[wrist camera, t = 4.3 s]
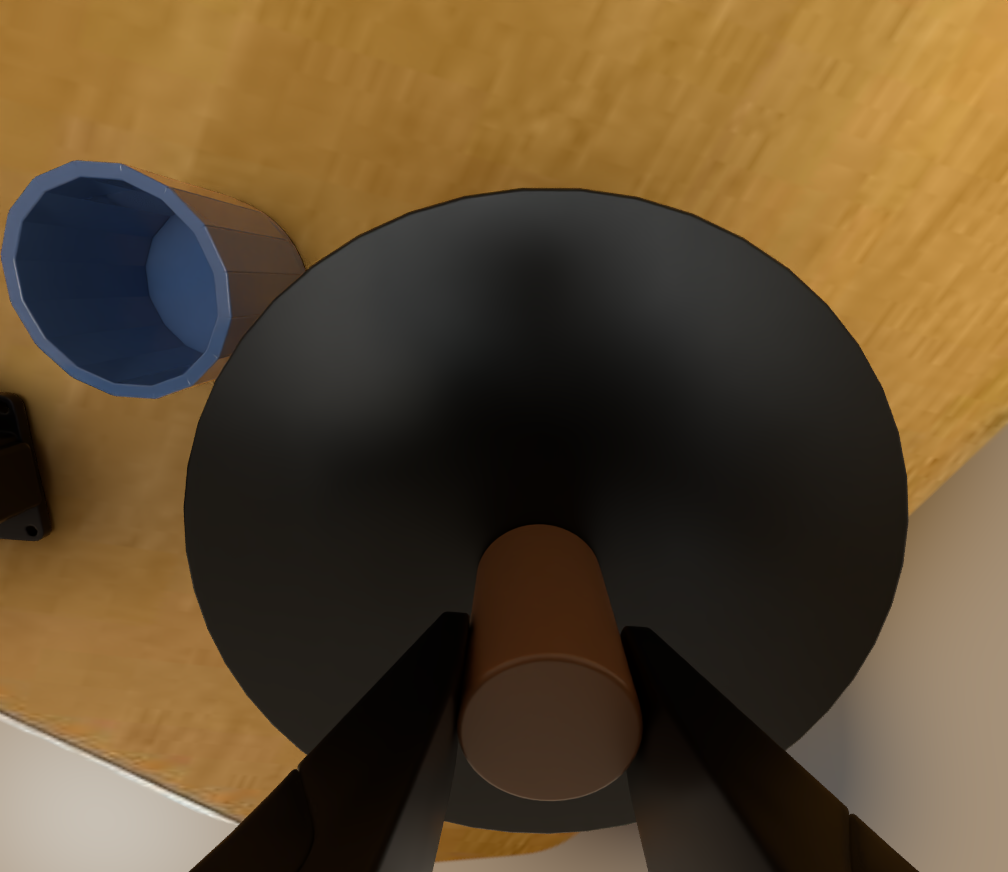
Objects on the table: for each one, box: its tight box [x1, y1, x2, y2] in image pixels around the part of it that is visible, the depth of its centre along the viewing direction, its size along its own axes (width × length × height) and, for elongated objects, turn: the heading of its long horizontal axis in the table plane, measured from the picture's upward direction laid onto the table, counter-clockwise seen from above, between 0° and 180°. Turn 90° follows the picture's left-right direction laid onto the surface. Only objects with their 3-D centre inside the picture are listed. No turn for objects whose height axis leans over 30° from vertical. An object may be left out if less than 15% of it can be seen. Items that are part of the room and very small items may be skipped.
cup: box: [1, 160, 305, 399], centre depth 16 cm, size 6×6×6 cm
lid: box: [184, 188, 908, 834], centre depth 9 cm, size 14×14×5 cm
